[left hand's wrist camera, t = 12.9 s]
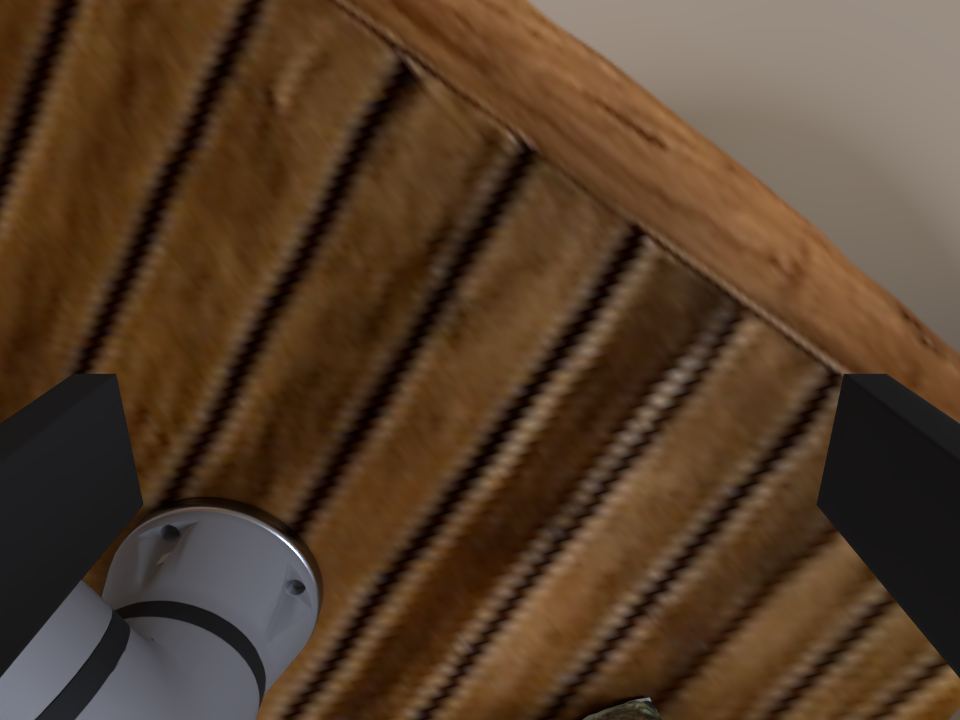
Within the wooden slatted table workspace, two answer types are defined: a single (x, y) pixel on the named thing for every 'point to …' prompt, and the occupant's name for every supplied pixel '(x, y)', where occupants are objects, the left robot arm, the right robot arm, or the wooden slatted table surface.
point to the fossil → (628, 711)
